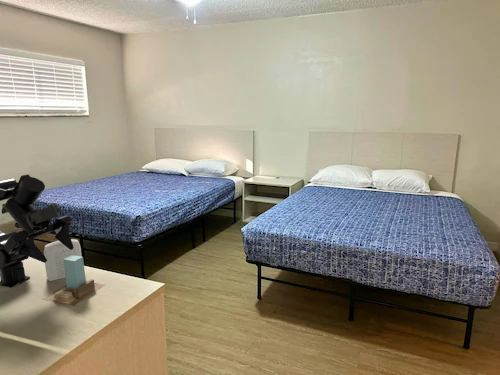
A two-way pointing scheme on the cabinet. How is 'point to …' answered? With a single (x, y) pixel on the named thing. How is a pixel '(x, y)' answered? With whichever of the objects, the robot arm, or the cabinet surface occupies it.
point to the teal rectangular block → (74, 271)
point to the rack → (73, 293)
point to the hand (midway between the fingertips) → (59, 255)
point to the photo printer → (59, 258)
